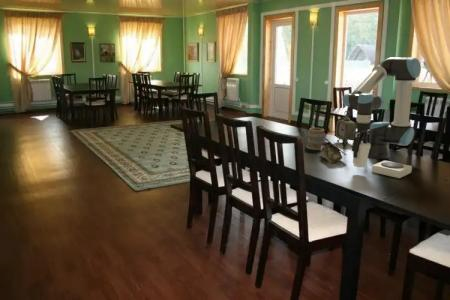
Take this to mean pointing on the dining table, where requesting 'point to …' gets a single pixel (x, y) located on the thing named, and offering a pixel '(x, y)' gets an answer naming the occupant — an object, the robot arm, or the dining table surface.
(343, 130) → the tabletop clock
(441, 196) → the dining table surface
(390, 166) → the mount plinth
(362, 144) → the foam cup
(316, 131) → the tankard
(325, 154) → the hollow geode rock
